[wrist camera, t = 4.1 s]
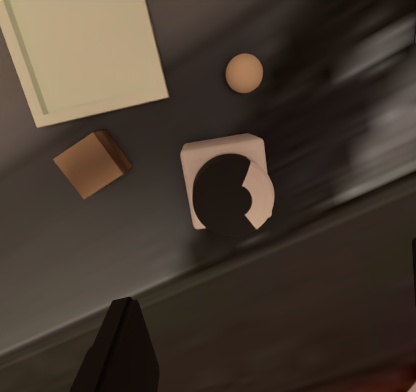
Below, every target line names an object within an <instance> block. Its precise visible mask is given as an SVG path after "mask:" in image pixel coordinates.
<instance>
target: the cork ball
mask: <svg viewBox="0 0 416 392" xmlns="http://www.w3.org/2000/svg"><path fill="white" fill-rule="evenodd" d="M262 77H263V68H262V65H261V63H260V61H259V60H258V59H257V58H256V57H255V56H253V55H251V54H246V53H244V54H239V55H237V56H235V57H234V58H233V59H232V60H231V61H230V62H229V64H228V66H227V69H226V80H227V82H228V84H229V86H230V87H231V88H232V89H233V90H234V91H236V92H239V93H248V92H251V91H253V90H254V89H256V88H257V87H258V86H259V84H260V82H261V80H262Z"/></svg>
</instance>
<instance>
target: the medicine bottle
mask: <svg viewBox="0 0 416 392" xmlns="http://www.w3.org/2000/svg"><path fill="white" fill-rule="evenodd" d="M180 156H181V162H182V167H183V173H184V178H185V184H186V189H187V195H188V200H189V205H190V211H191V216H192V222H193V226H194V228H195V229H203V228H207V229H208V230H210V231H211V232H213V233H215V234H218V235H220V236H225V237H239V236H244V235H247V234H249V233H251V232H253V231H255V230H256V229H258V228H259V227H260V226H261V225H262V224H263V223H264V222H265V221H266V220H267V218H269V217H271V215H272V208H273V204H274V189H273V185H272V182H271V180H270V178H269V176H268V175H267V166H266V157H265V148H264V141H263V139H261V138H259V137H257V136H254V135H251V134H249V133H245V134H239V135H233V136H227V137H221V138H215V139H209V140H203V141H197V142H191V143H186V144H184V145H183V148H182V151H181V154H180Z"/></svg>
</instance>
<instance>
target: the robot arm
mask: <svg viewBox="0 0 416 392" xmlns="http://www.w3.org/2000/svg"><path fill="white" fill-rule="evenodd" d="M412 251H413V269H414V287H415V305H416V238H414V239H413V241H412ZM158 382H159V365H158V361H157V358H156V355H155V352H154V349H153V346H152V343H151V340H150V337H149V333H148V330H147V327H146V324H145V321H144V318H143V315H142V312H141V309H140V306H139V303H138V301H137V300H132V298H131V297H126V298H121V299H117V300H113V301H112V303H111V305H110V307H109V310H108V312H107V314H106V317H105V319H104V321H103V323H102V326H101V328H100V330H99V332H98V335H97V337H96V339H95V342H94V344H93V346H92V347H90V348H89V350H88V352H87V354H86V356H85V358H84V360H83V363H82V365H81V367H80V369H79V372H78V374H77V376H76V378H75V380H74V383H73V385H72V387H71V389H70V392H157V389H158Z"/></svg>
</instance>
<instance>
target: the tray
mask: <svg viewBox="0 0 416 392" xmlns="http://www.w3.org/2000/svg"><path fill="white" fill-rule="evenodd" d="M0 26H1V29H2V32H3V35H4V37H5V40H6V43H7V46H8V49H9V51H10V54H11V57H12V60H13V62H14V65H15V68H16V71H17V74H18V76H19V79H20V82H21V85H22V87H23V90H24V93H25V96H26V99H27V101H28V104H29V107H30V110H31V113H32V115H33V118H34V121H35V124H36V126H37V128H39V127H47V126H52V125H56V124H60V123H64V122H69V121H73V120H77V119H82V118H86V117H90V116H94V115H99V114H103V113H107V112H112V111H116V110H120V109H124V108H129V107H133V106H137V105H142V104H146V103H150V102H154V101H159V100H163V99H167V98H170V96H169V92H168V88H167V84H166V80H165V76H164V72H163V67H162V63H161V59H160V55H159V51H158V47H157V43H156V39H155V35H154V31H153V26H152V22H151V18H150V14H149V10H148V6H147V2H146V0H0Z"/></svg>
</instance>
